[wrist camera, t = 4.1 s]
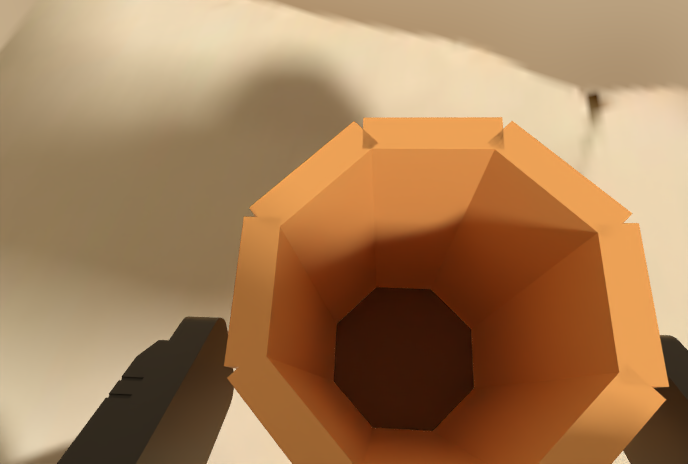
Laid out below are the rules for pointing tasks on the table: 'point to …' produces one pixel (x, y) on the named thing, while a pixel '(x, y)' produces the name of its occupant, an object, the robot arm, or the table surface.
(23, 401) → the table surface
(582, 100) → the table surface
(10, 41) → the table surface
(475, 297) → the collar
